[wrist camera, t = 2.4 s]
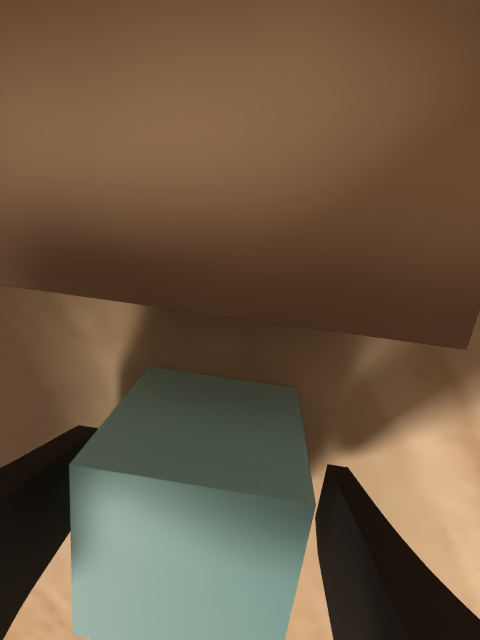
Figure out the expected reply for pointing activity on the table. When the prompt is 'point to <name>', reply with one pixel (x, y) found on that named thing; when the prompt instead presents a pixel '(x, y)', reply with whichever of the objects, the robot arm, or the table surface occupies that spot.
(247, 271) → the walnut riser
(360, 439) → the table surface
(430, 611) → the robot arm
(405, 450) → the table surface
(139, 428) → the teal cube
